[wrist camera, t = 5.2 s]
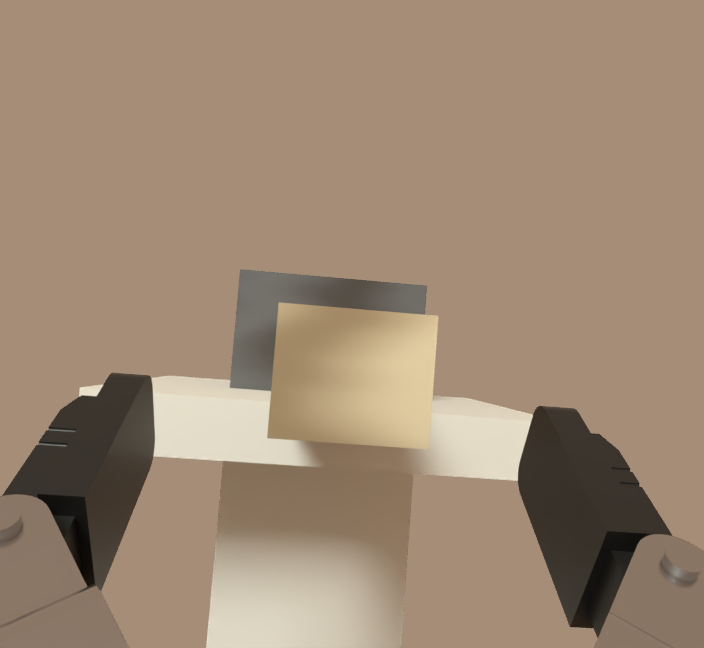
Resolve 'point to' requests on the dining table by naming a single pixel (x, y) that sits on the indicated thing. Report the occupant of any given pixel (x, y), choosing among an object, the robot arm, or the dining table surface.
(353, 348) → the grey and beige blocks
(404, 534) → the stand
